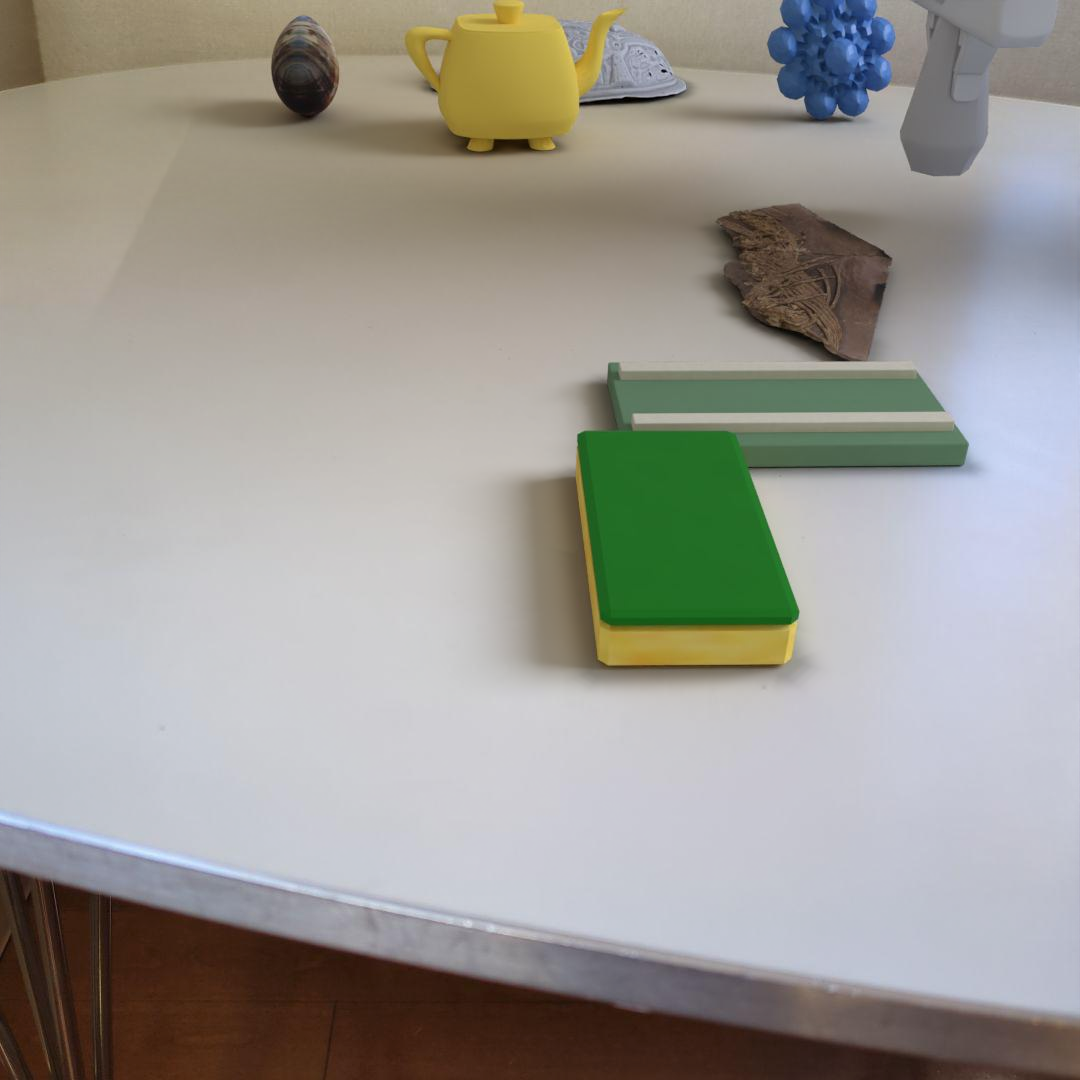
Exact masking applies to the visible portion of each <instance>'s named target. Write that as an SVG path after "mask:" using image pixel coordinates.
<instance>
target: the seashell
mask: <svg viewBox="0 0 1080 1080" xmlns="http://www.w3.org/2000/svg"><path fill="white" fill-rule="evenodd" d="M270 63H271V64H270V70H271V72H270V73H271V80H272V83H273V87H274V90H275V93H276V94H277V96H278V98H279V99H280V101H281V102H282V104H284V106H285V107H286V108H287V109H289V110H290V111H291V112H293V113H295V114H296V115H300V116H304V117H314V116H316V115H317V116H318V115H319V114H321V113H322V112H324V111H325V110H326V109H327V108H328V107H329V106H330V104H332V103H333V101H334V98H335V96H336V94H337V92H338V88H339V83H340V64H339V59H338V54H337V51H336V48H335V46H334V44H333V42H332V40H331V38H330V37H329V35H328V34H327V33H326V31H325V30H324V28H323V27H322V26H321V25H320V24H319V23H318V22H317V21H316V20H314V19H313V18H312V17H310V16H308V15H306V14H302V15H301V14H300V15H298V16H297V17H295V18H294V19H292V20H291V21H290V22H289V23H288V24H286V26H285V27H284V29H282V30H281V32H280V34H279V35H278V37H277V39H276V42H275V44H274V47H273V50H272V53H271V62H270Z"/></svg>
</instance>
